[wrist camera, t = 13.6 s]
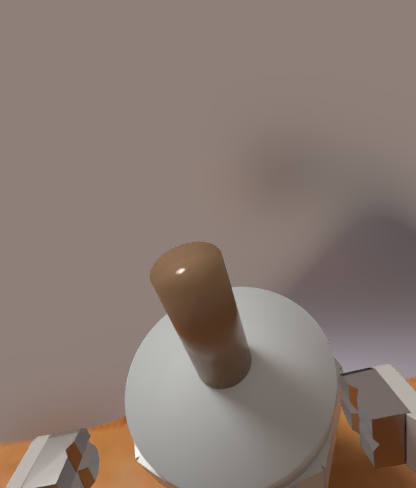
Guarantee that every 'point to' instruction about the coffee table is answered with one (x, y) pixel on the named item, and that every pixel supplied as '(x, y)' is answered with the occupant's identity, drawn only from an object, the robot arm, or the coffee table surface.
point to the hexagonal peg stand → (231, 383)
